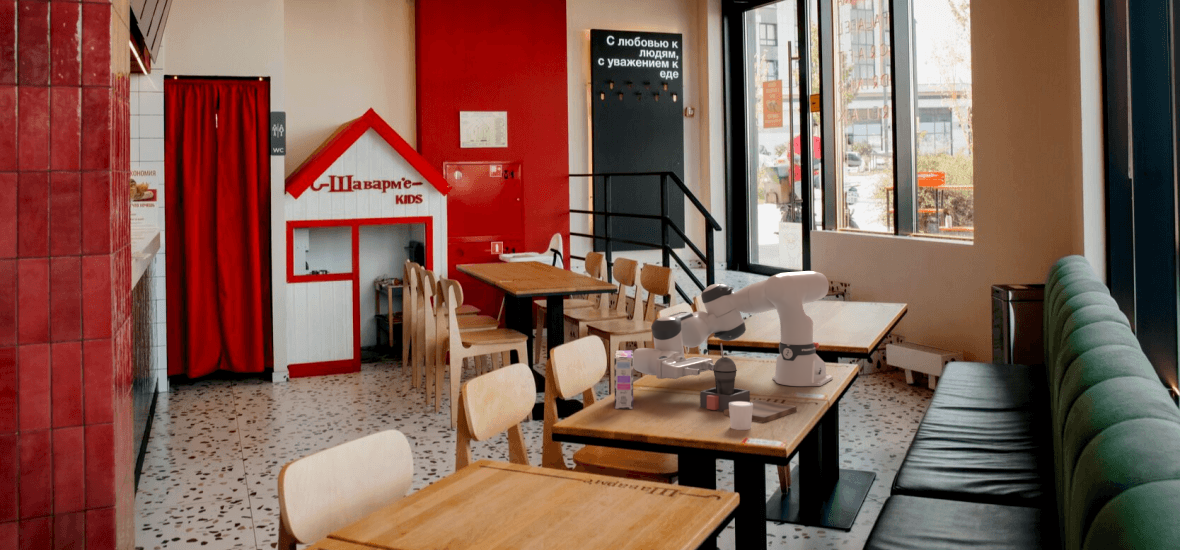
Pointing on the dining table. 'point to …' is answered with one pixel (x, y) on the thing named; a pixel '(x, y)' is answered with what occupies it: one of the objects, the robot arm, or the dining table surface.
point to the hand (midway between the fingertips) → (707, 370)
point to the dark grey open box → (722, 398)
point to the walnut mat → (768, 410)
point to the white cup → (740, 415)
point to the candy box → (623, 379)
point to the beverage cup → (724, 375)
